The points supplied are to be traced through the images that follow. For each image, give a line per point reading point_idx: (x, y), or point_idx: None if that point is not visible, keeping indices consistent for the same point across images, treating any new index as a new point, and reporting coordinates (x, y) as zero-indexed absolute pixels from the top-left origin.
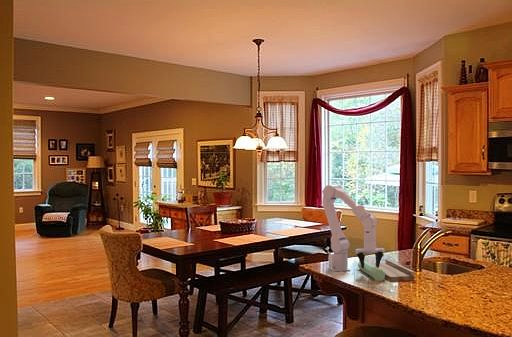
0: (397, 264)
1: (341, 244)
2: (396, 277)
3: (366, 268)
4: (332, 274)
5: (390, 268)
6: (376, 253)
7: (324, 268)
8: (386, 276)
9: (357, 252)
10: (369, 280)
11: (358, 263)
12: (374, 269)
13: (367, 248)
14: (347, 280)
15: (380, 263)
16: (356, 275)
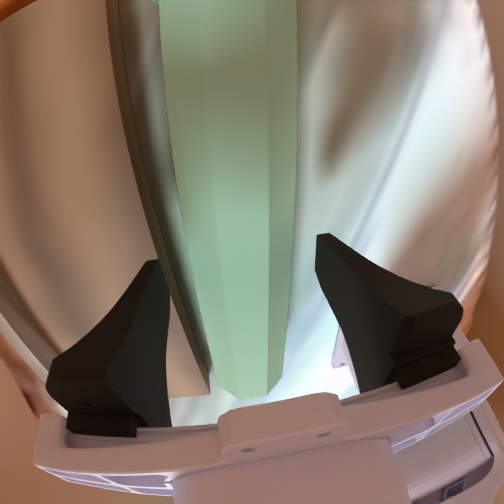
0: (1, 322)
1: (490, 436)
2: (41, 1)
3: (292, 231)
4: (468, 230)
5: (53, 301)
6: (155, 422)
7: None
8: (116, 49)
9: (480, 354)
10: (316, 14)
11: (281, 375)
12: (270, 40)
13: (387, 463)
14: (466, 71)
15: None
16: (361, 195)
